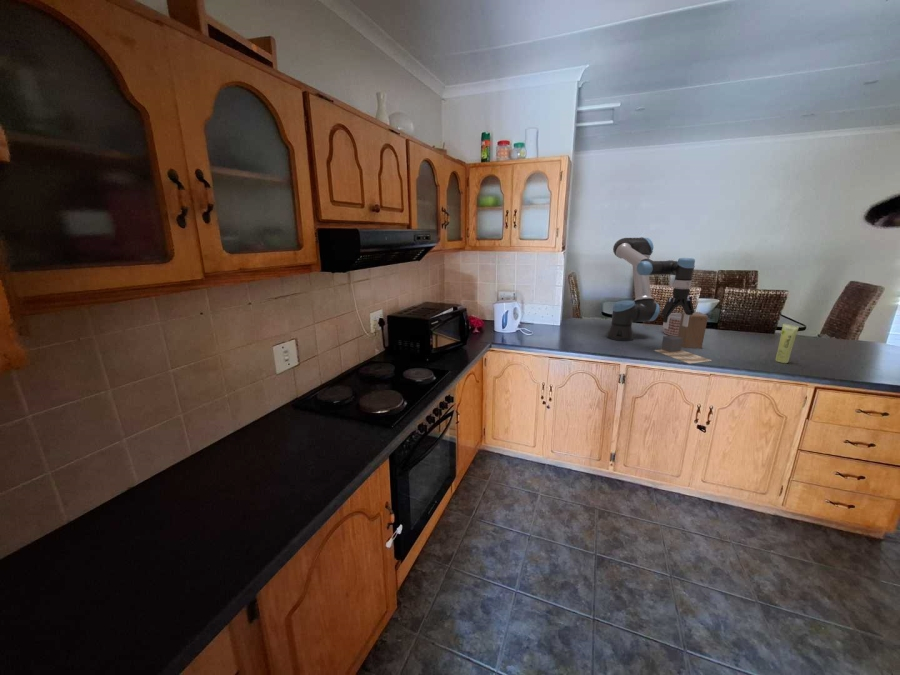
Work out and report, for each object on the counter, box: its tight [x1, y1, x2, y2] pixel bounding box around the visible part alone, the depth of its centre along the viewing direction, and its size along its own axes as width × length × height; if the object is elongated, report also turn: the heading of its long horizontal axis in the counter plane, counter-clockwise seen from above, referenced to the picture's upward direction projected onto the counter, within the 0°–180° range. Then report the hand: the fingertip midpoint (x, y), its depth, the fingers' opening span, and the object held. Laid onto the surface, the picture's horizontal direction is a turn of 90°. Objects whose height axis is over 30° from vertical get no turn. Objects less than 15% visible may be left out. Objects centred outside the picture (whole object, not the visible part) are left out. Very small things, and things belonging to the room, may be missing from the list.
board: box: [653, 349, 712, 365], centre depth 190 cm, size 22×15×1 cm
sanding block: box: [660, 335, 683, 353], centre depth 195 cm, size 6×7×8 cm
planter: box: [663, 312, 682, 337], centre depth 230 cm, size 14×14×13 cm
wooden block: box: [678, 311, 709, 350], centre depth 203 cm, size 10×10×20 cm
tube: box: [775, 323, 800, 364], centre depth 179 cm, size 6×5×20 cm
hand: (675, 327), depth 192 cm, fingers open, 13 cm apart
